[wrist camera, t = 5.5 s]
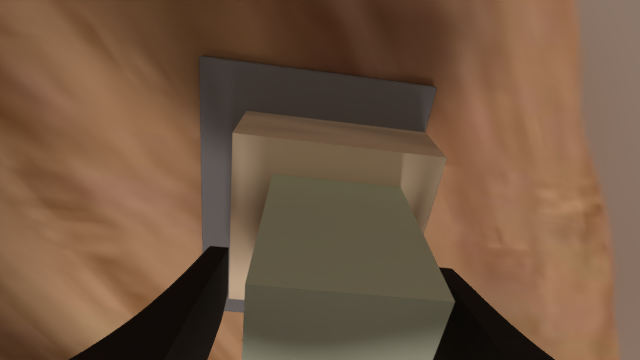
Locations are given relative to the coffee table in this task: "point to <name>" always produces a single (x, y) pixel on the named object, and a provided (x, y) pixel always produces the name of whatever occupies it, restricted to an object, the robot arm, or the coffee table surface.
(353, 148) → the base block
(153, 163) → the coffee table surface
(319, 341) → the sage block
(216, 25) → the coffee table surface
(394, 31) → the coffee table surface
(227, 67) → the mat
